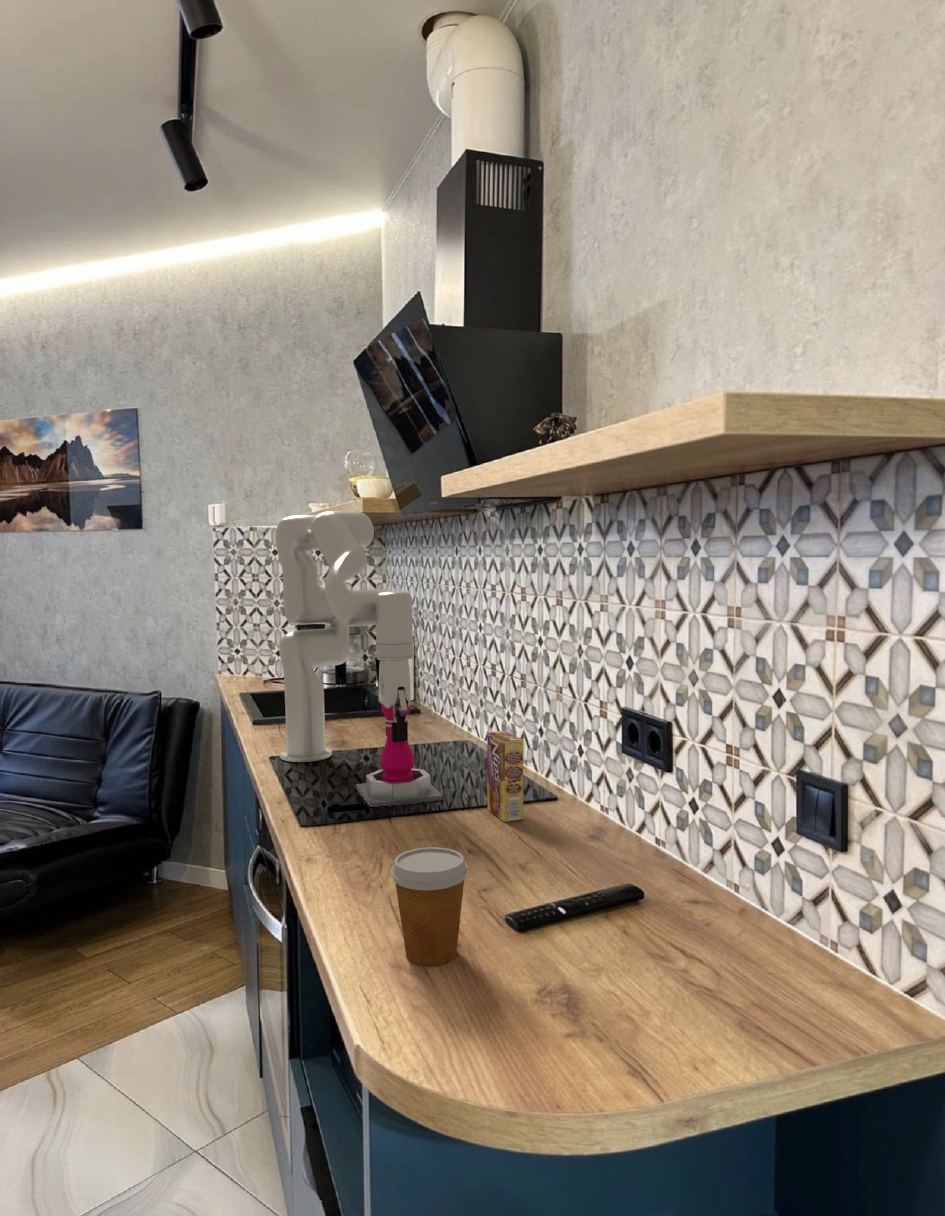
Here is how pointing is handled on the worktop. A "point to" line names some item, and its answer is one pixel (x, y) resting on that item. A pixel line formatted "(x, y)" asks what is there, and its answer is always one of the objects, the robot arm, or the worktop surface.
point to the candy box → (505, 775)
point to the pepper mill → (396, 753)
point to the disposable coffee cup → (430, 902)
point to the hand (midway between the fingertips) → (396, 737)
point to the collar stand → (398, 790)
